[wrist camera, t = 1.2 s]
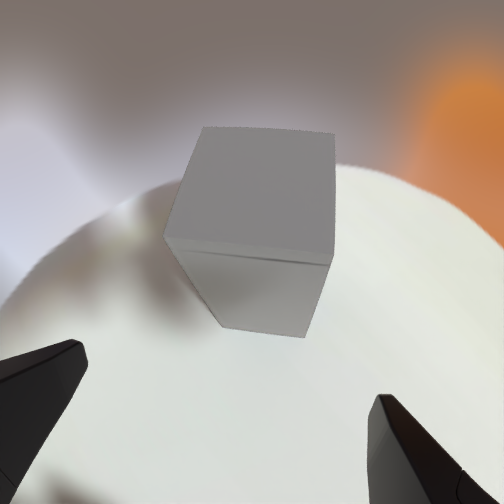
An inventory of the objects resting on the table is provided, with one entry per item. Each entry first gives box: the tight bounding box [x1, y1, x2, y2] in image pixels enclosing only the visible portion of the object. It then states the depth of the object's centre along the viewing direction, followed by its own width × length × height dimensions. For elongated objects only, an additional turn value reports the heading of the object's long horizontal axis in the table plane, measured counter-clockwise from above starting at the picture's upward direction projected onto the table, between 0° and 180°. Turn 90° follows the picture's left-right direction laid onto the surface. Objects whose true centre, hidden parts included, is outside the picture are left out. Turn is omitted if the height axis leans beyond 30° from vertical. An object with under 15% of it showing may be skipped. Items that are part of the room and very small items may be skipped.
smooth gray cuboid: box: [162, 127, 336, 338], centre depth 18 cm, size 6×6×13 cm
